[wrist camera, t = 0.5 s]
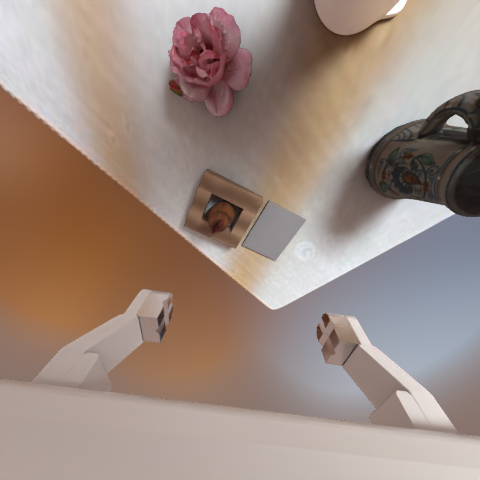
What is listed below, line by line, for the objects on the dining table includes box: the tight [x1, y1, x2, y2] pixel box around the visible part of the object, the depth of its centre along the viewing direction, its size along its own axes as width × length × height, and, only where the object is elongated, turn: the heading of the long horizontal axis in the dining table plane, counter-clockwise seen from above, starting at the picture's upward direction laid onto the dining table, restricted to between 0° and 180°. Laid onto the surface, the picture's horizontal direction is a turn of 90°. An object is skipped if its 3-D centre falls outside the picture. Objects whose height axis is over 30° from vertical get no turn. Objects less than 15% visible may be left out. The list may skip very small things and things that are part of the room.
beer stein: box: [365, 90, 480, 217], centre depth 34 cm, size 16×19×25 cm
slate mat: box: [242, 201, 306, 261], centre depth 56 cm, size 16×12×1 cm
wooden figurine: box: [208, 201, 235, 234], centre depth 47 cm, size 7×6×15 cm
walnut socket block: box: [184, 169, 263, 249], centre depth 52 cm, size 16×16×4 cm
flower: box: [168, 7, 252, 117], centre depth 35 cm, size 15×15×10 cm
